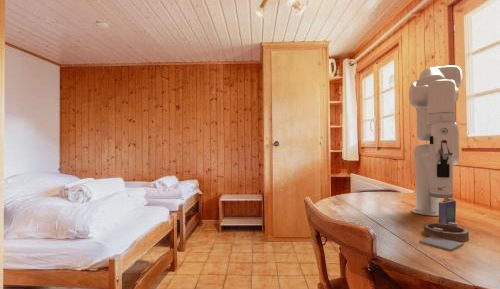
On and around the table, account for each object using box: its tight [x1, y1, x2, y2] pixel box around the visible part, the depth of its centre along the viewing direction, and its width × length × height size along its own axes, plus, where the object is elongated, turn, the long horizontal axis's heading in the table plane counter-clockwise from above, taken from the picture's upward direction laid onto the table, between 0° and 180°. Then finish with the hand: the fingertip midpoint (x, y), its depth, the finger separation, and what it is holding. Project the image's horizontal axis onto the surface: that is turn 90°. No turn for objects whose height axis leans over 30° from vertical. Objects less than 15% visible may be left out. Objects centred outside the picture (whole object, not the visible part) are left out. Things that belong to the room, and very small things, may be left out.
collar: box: [423, 222, 470, 242], centre depth 100 cm, size 14×12×3 cm
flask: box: [438, 198, 457, 224], centre depth 113 cm, size 10×3×12 cm, turn 121°
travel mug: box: [428, 136, 454, 199], centre depth 92 cm, size 6×7×20 cm
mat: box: [418, 236, 464, 252], centre depth 92 cm, size 9×9×1 cm
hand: (441, 175), depth 92 cm, fingers closed on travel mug, 6 cm apart
